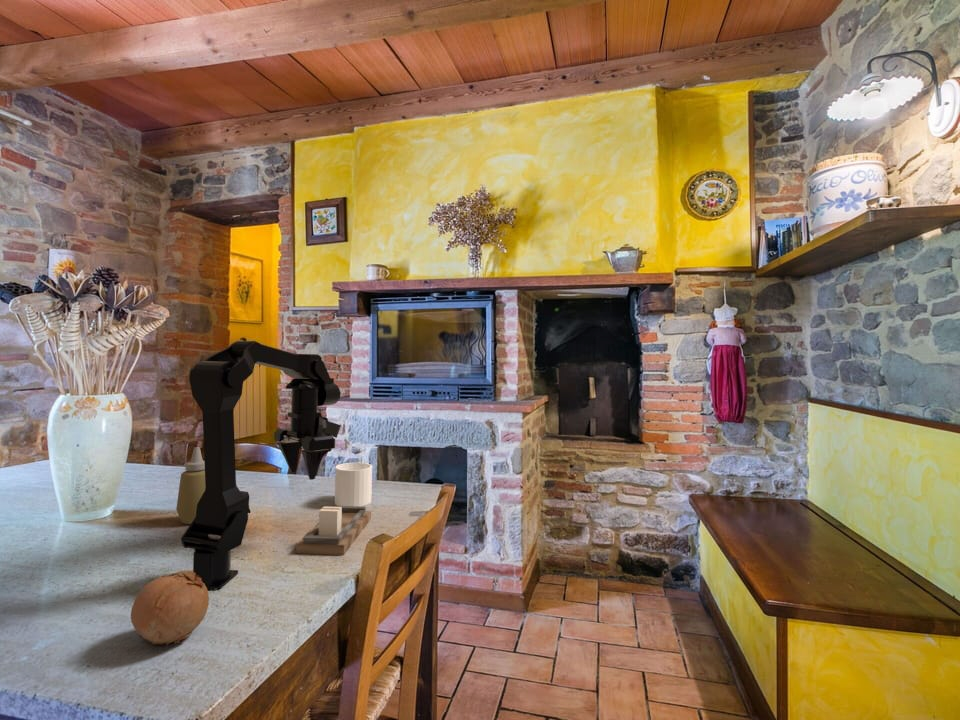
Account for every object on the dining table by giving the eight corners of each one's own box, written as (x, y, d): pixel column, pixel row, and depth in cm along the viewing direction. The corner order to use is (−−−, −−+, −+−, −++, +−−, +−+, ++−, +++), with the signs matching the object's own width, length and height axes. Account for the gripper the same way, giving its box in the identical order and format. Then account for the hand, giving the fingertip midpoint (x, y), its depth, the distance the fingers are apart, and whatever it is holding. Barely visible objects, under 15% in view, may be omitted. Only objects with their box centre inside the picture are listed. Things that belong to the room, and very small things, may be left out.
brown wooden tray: (344, 554, 98) (344, 539, 98) (296, 553, 99) (296, 537, 99) (371, 519, 120) (371, 506, 120) (331, 517, 121) (332, 505, 121)
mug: (376, 505, 132) (377, 468, 132) (340, 510, 127) (341, 472, 127) (361, 493, 143) (362, 459, 143) (327, 498, 137) (328, 462, 137)
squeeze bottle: (168, 522, 115) (170, 448, 115) (201, 513, 122) (203, 443, 122) (188, 529, 111) (190, 452, 111) (221, 519, 118) (222, 446, 118)
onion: (197, 644, 72) (231, 577, 75) (168, 666, 63) (208, 588, 66) (137, 622, 72) (174, 555, 75) (99, 640, 63) (143, 563, 66)
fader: (336, 536, 103) (337, 510, 103) (318, 535, 103) (319, 510, 103) (341, 531, 106) (341, 506, 106) (323, 530, 106) (323, 505, 106)
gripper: (357, 409, 109) (355, 477, 109) (317, 403, 122) (315, 464, 122) (311, 412, 101) (309, 485, 101) (274, 405, 114) (272, 470, 114)
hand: (302, 475), depth 110 cm, fingers open, 9 cm apart
